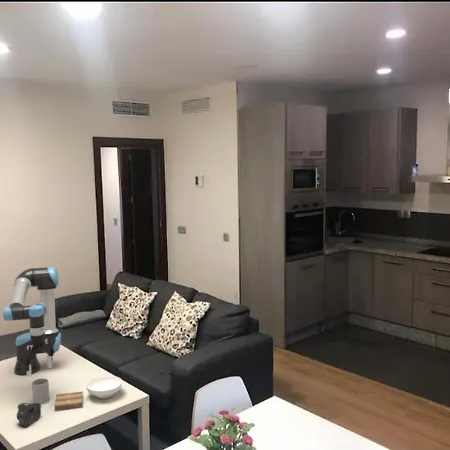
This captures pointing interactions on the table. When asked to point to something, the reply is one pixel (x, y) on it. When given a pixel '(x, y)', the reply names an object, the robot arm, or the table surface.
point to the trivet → (68, 401)
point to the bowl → (104, 386)
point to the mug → (40, 391)
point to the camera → (28, 413)
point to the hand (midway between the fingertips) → (39, 371)
